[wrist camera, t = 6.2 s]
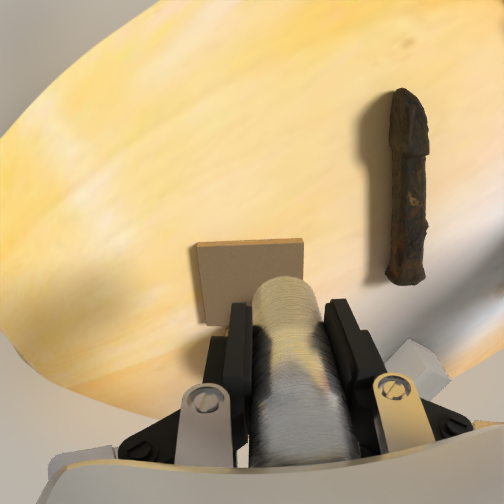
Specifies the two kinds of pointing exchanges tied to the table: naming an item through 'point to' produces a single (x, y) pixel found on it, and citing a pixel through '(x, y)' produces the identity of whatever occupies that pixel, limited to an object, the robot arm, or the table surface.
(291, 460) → the hinge pin
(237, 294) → the hinge
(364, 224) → the table surface
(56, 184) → the table surface
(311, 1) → the table surface
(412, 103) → the hand tool
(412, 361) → the light grey cube
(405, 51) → the table surface
